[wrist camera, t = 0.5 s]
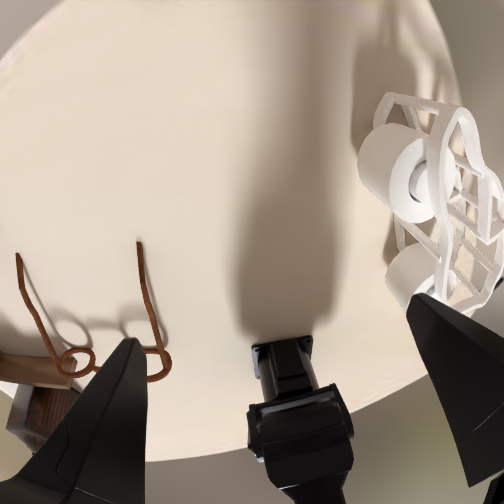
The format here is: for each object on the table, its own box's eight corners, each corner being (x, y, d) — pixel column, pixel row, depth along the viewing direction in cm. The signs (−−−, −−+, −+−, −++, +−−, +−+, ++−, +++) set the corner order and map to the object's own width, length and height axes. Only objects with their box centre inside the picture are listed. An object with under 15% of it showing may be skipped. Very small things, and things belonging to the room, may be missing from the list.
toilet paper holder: (328, 114, 17) (388, 135, 11) (439, 75, 15) (509, 89, 9) (383, 300, 28) (415, 352, 22) (459, 254, 26) (497, 294, 20)
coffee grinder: (16, 379, 29) (-7, 475, 14) (43, 366, 27) (17, 487, 13) (85, 424, 38) (78, 510, 23) (123, 417, 36) (119, 519, 21)
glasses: (67, 346, 26) (56, 381, 22) (17, 250, 19) (-9, 284, 15) (173, 346, 28) (172, 387, 24) (145, 237, 21) (131, 278, 16)
